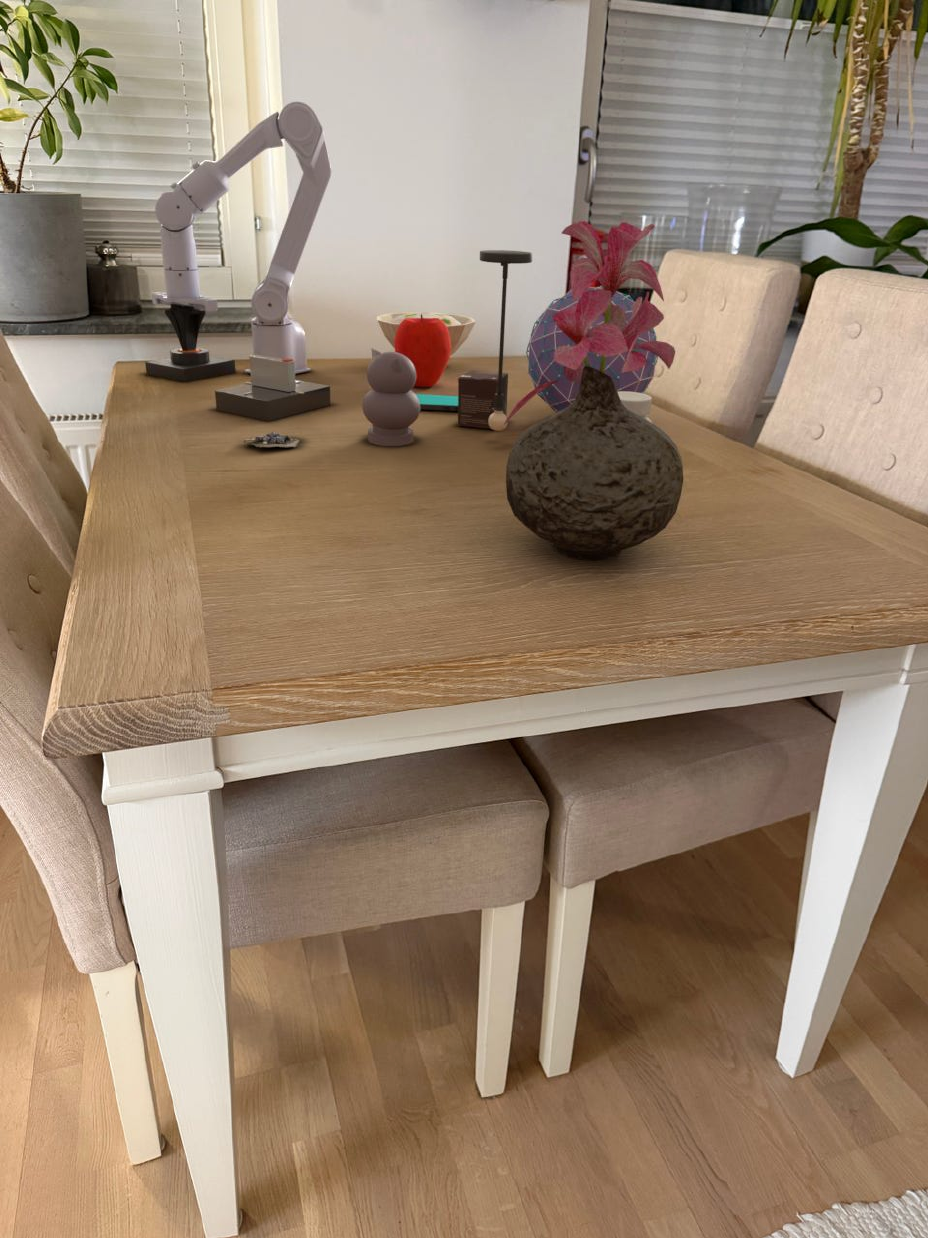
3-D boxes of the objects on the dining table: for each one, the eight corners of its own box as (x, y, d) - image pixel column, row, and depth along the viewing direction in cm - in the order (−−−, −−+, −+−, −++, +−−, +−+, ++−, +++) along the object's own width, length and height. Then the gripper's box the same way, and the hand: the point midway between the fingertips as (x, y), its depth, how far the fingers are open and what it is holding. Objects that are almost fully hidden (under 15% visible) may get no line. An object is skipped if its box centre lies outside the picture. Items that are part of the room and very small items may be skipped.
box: (507, 421, 136) (509, 372, 133) (495, 430, 131) (497, 380, 128) (469, 417, 138) (471, 369, 135) (456, 426, 133) (457, 376, 130)
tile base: (277, 394, 148) (276, 375, 147) (333, 405, 143) (332, 385, 141) (213, 409, 138) (211, 388, 136) (271, 421, 132) (270, 400, 130)
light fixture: (468, 439, 126) (474, 249, 115) (513, 438, 127) (524, 250, 116) (479, 452, 120) (487, 253, 109) (526, 451, 122) (539, 254, 111)
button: (191, 357, 163) (190, 347, 162) (204, 359, 161) (203, 349, 161) (175, 359, 160) (174, 349, 160) (189, 362, 159) (188, 352, 158)
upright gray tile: (251, 385, 140) (248, 354, 138) (258, 383, 141) (256, 352, 139) (289, 392, 136) (287, 360, 134) (296, 390, 137) (294, 359, 135)
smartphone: (401, 393, 148) (491, 397, 147) (401, 398, 148) (491, 402, 147) (394, 403, 141) (489, 407, 140) (394, 408, 141) (489, 412, 140)
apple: (441, 378, 164) (442, 309, 159) (457, 390, 156) (459, 317, 150) (388, 380, 161) (388, 309, 156) (402, 392, 153) (402, 317, 147)
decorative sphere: (610, 388, 120) (532, 272, 123) (550, 464, 138) (483, 360, 141) (709, 349, 129) (634, 241, 132) (641, 424, 147) (576, 328, 150)
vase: (701, 549, 90) (752, 227, 77) (602, 600, 79) (641, 230, 66) (568, 509, 101) (593, 217, 87) (463, 548, 89) (473, 219, 76)
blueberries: (233, 445, 120) (232, 431, 119) (280, 434, 125) (279, 421, 125) (265, 455, 116) (264, 441, 115) (312, 444, 122) (311, 430, 121)
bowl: (387, 355, 184) (387, 304, 180) (480, 360, 182) (482, 308, 178) (365, 372, 167) (364, 316, 163) (467, 378, 165) (469, 322, 160)
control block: (197, 364, 169) (195, 343, 167) (235, 371, 164) (233, 349, 162) (146, 374, 160) (143, 351, 158) (184, 381, 155) (182, 358, 153)
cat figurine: (431, 444, 123) (432, 355, 118) (380, 451, 120) (379, 359, 114) (401, 430, 130) (401, 345, 124) (352, 436, 126) (350, 348, 121)
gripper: (134, 267, 155) (144, 347, 161) (192, 273, 148) (200, 357, 154) (166, 264, 160) (175, 343, 166) (223, 271, 153) (230, 352, 159)
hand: (189, 349), depth 160 cm, fingers closed, pressing on button
